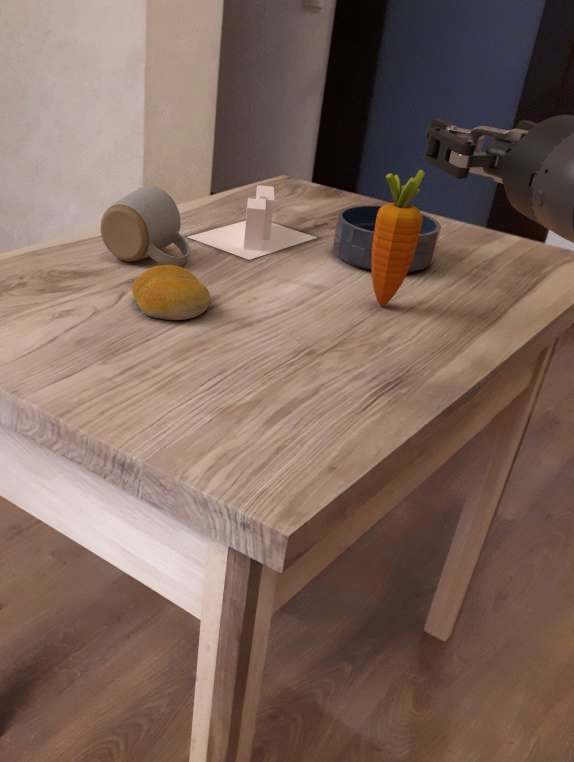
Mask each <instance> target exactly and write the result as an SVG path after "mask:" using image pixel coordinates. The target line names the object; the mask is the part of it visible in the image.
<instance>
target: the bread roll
mask: <svg viewBox="0 0 574 762" xmlns="http://www.w3.org/2000/svg"><path fill="white" fill-rule="evenodd" d="M131 287H132V289H131V294H132V298H133V299H134V301H135V302H136V303H137V305H138V307H139V308H140V310H141V311H142V312H143V314H145V315H146V316H148V317H150V318H151V317H152V318H155V319H161V320H168V321H184V320H190V319H194V318H196V317H197V316H198V317H199V315H201V314H203V313H204V312H205V311H206V310H208V308H209V305H210V301H211V300H210V299H211V294H210V292H209V289H208V288H207V287H206V285H204V284H203V283H202V282H200V279H198V278H197V276H196V275H194V274H193V273H192V272H191V271H190V270H188V269H186V268H184V267H182V266H180V267H178V266H175V265H162V264H159V265H155V266H153V267H150V268H149V269H146V270H145V271H144V272H142V273H141V274H140V275H139V276H137V278H136V279H135V280H134V282H133V284H132V286H131Z"/></svg>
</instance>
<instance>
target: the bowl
mask: <svg viewBox="0 0 574 762" xmlns="http://www.w3.org/2000/svg"><path fill="white" fill-rule="evenodd" d="M382 206H384V205H383V204H382V205H381V204H359V205H350V206H348V207H344V208H342V209H341V210H339V211H338V212H337V215H336V220H335V226H334V232H333V238H332V239H333V240H332V252H333V253H334V254H335V255H336V257H338V258H340V259H341V260H343V261H344V262H345V263H347V264H349V265H351V266H353V267H356V268H359V269H362V270H367V271H370V272H372V264H371V263H372V245H373V237H374V230H375V224H376V218H377V213H378V211H379V209H380V208H381V207H382ZM421 214H422V215H423V222H422V227H421V231H420V235H419V239H418V243H417V246H416V250H415V253H414V257H413V260H412V262H411V265H410V267H409V270H408V272H407V274H409V273H413V272H418V271H420V270H423V269H426V268H428V267H430V266H432V264H433V262H434V260H435V257H436V252H437V248H438V244H439V239H440V235H441V230H442V225H441V224H440V222H439V221H438V220H437V219H435V218H434V217H432V216H430V215H427V214H425V213H423V212H421Z"/></svg>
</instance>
